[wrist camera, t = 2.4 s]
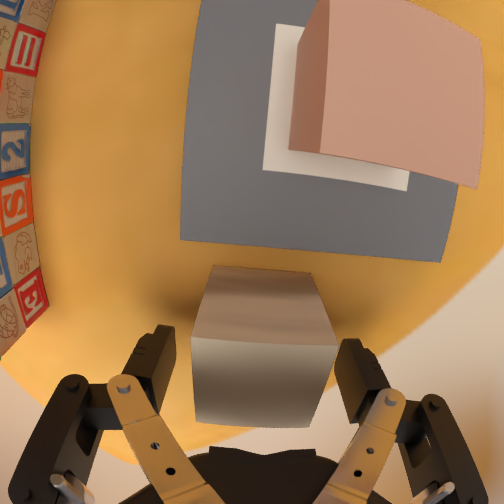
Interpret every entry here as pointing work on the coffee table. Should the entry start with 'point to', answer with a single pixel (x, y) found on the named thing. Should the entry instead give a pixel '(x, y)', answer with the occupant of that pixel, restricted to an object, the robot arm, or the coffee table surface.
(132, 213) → the coffee table surface
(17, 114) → the stack of blocks
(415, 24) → the block
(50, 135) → the coffee table surface
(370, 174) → the board
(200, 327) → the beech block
